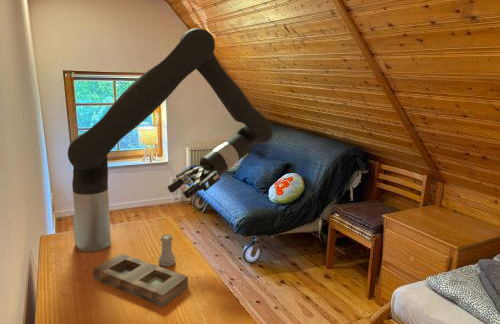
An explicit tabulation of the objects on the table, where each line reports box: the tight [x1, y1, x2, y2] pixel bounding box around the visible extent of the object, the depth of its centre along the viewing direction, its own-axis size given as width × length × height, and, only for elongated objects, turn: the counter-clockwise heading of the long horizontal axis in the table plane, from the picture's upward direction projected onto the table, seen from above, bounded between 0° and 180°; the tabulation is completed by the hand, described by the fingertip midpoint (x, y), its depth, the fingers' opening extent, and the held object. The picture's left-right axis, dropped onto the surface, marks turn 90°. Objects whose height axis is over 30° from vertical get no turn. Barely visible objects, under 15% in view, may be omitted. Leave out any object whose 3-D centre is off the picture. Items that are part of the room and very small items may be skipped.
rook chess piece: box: [158, 233, 176, 268], centre depth 99 cm, size 4×4×8 cm
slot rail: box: [93, 253, 189, 308], centre depth 89 cm, size 22×9×3 cm, turn 62°
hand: (176, 192), depth 99 cm, fingers open, 8 cm apart
